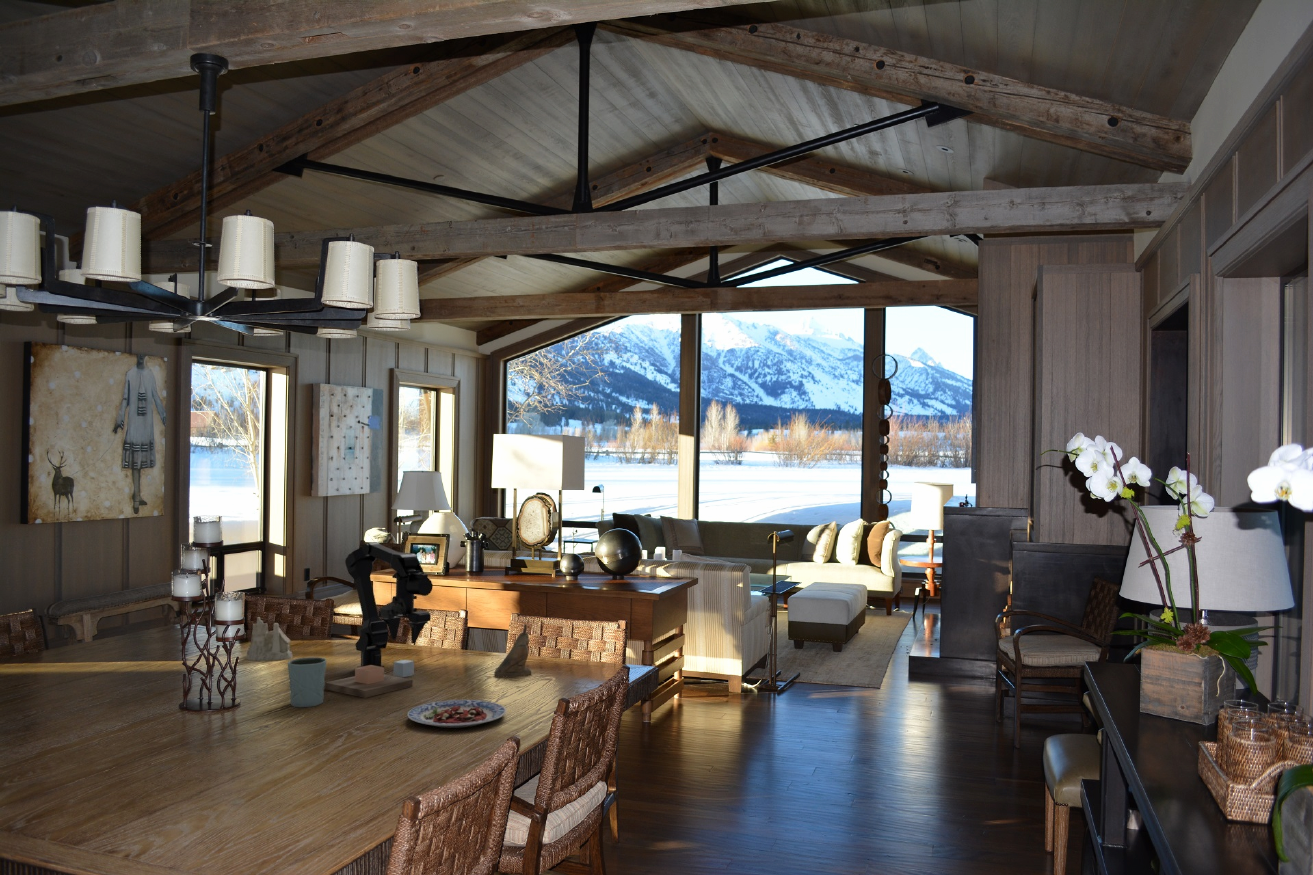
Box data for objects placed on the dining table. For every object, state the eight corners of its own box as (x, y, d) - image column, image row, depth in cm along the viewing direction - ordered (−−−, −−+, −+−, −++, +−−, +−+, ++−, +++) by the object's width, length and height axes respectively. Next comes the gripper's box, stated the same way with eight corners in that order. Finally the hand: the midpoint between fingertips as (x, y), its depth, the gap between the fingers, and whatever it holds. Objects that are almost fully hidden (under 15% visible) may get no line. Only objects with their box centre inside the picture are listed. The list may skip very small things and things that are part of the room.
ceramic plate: (522, 712, 255) (523, 702, 255) (474, 737, 231) (475, 725, 231) (441, 704, 264) (441, 693, 264) (387, 726, 239) (387, 715, 240)
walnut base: (325, 689, 279) (325, 682, 279) (372, 678, 294) (373, 672, 294) (365, 697, 269) (365, 690, 269) (412, 686, 284) (412, 679, 284)
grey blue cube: (393, 675, 298) (393, 661, 299) (404, 673, 302) (404, 659, 302) (402, 677, 296) (403, 663, 296) (413, 675, 300) (414, 661, 300)
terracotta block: (354, 681, 281) (355, 668, 281) (370, 677, 286) (371, 664, 286) (367, 684, 277) (368, 670, 277) (383, 680, 282) (384, 667, 282)
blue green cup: (332, 701, 264) (334, 659, 264) (305, 709, 255) (307, 665, 255) (306, 697, 268) (307, 655, 269) (278, 705, 259) (280, 661, 259)
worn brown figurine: (528, 680, 305) (540, 626, 308) (530, 683, 300) (543, 628, 302) (492, 674, 302) (505, 619, 304) (494, 677, 297) (507, 621, 299)
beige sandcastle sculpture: (285, 660, 318) (286, 616, 320) (237, 662, 318) (238, 617, 320) (302, 655, 334) (302, 612, 335) (256, 656, 334) (257, 614, 335)
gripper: (365, 592, 298) (364, 641, 298) (405, 598, 288) (403, 648, 287) (393, 589, 308) (391, 636, 307) (432, 594, 297) (431, 643, 297)
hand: (403, 641), depth 299 cm, fingers open, 9 cm apart
